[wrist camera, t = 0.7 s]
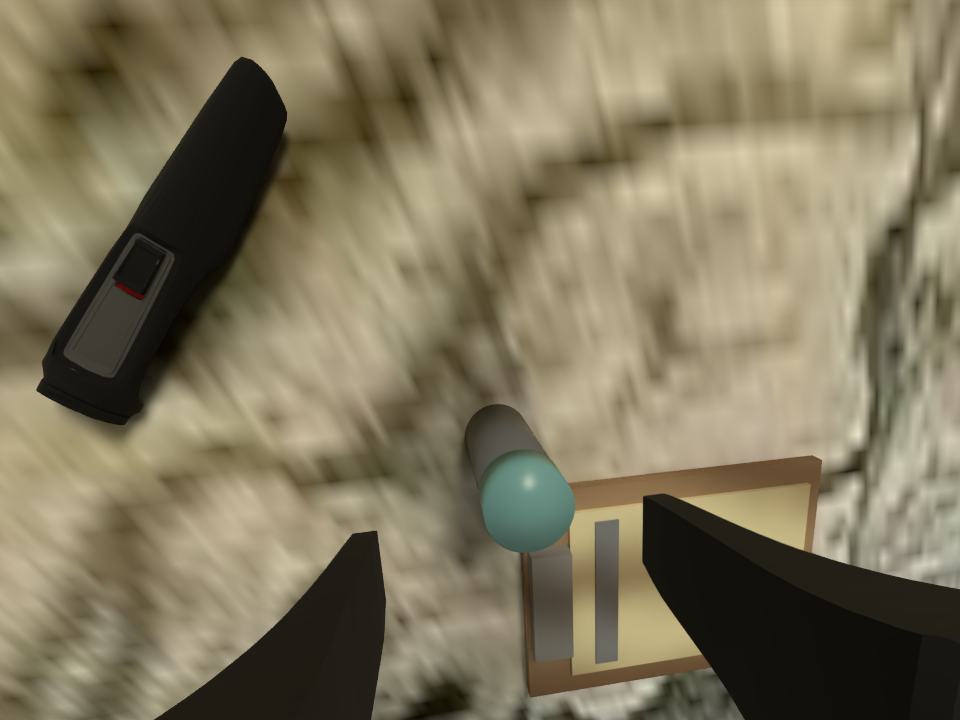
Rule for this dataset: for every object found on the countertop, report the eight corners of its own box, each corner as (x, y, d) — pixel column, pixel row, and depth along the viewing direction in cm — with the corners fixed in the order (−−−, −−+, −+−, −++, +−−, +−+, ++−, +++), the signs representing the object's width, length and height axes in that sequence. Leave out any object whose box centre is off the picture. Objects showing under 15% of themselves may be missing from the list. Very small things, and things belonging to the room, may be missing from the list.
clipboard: (792, 644, 27) (812, 664, 26) (527, 687, 25) (533, 711, 24) (812, 455, 24) (835, 466, 23) (519, 489, 23) (525, 503, 21)
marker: (529, 460, 22) (575, 546, 16) (466, 467, 22) (486, 558, 15) (527, 400, 22) (574, 463, 15) (462, 406, 21) (481, 473, 15)
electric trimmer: (323, 125, 19) (304, 97, 16) (138, 425, 20) (88, 453, 17) (239, 64, 18) (203, 22, 15) (53, 381, 19) (-16, 401, 16)
